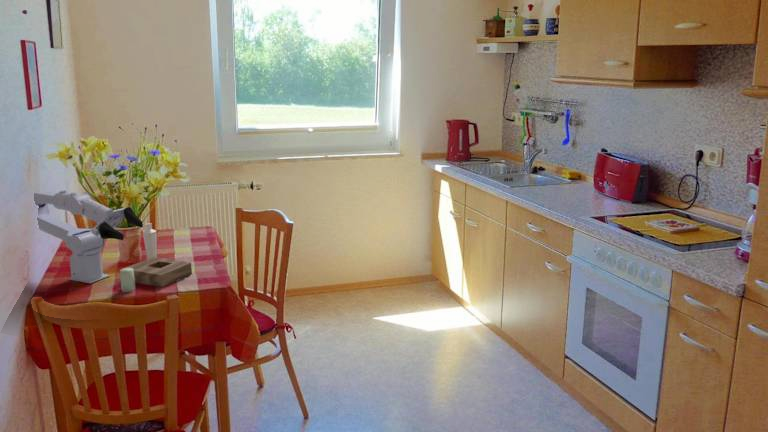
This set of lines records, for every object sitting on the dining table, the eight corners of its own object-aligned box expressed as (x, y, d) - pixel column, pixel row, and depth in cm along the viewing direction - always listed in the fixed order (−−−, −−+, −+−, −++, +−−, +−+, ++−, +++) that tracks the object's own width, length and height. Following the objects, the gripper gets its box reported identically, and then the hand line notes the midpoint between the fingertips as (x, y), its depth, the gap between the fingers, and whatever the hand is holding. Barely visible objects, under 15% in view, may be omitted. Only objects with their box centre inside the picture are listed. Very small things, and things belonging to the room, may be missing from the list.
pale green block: (118, 290, 198) (116, 271, 197) (128, 286, 202) (126, 267, 200) (128, 292, 197) (126, 272, 195) (138, 288, 200) (136, 268, 199)
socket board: (123, 280, 208) (122, 268, 207) (154, 267, 220) (153, 256, 219) (162, 287, 201) (161, 275, 200) (191, 273, 214) (191, 262, 213)
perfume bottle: (160, 263, 225) (157, 221, 222) (157, 267, 221) (153, 225, 217) (147, 263, 225) (144, 222, 221) (143, 267, 221) (139, 225, 217)
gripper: (79, 215, 193) (111, 232, 188) (117, 193, 203) (148, 209, 199) (83, 233, 197) (115, 250, 193) (120, 210, 208) (151, 226, 203)
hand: (132, 230), depth 196 cm, fingers open, 7 cm apart
